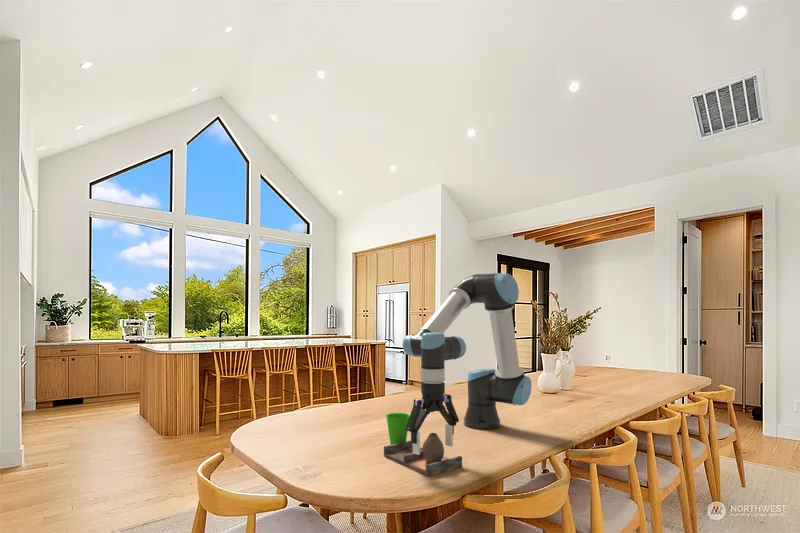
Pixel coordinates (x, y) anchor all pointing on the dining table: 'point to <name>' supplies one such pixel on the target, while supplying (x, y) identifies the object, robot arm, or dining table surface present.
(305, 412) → the dining table surface
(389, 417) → the cup
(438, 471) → the rack
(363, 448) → the dining table surface
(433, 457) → the vase
